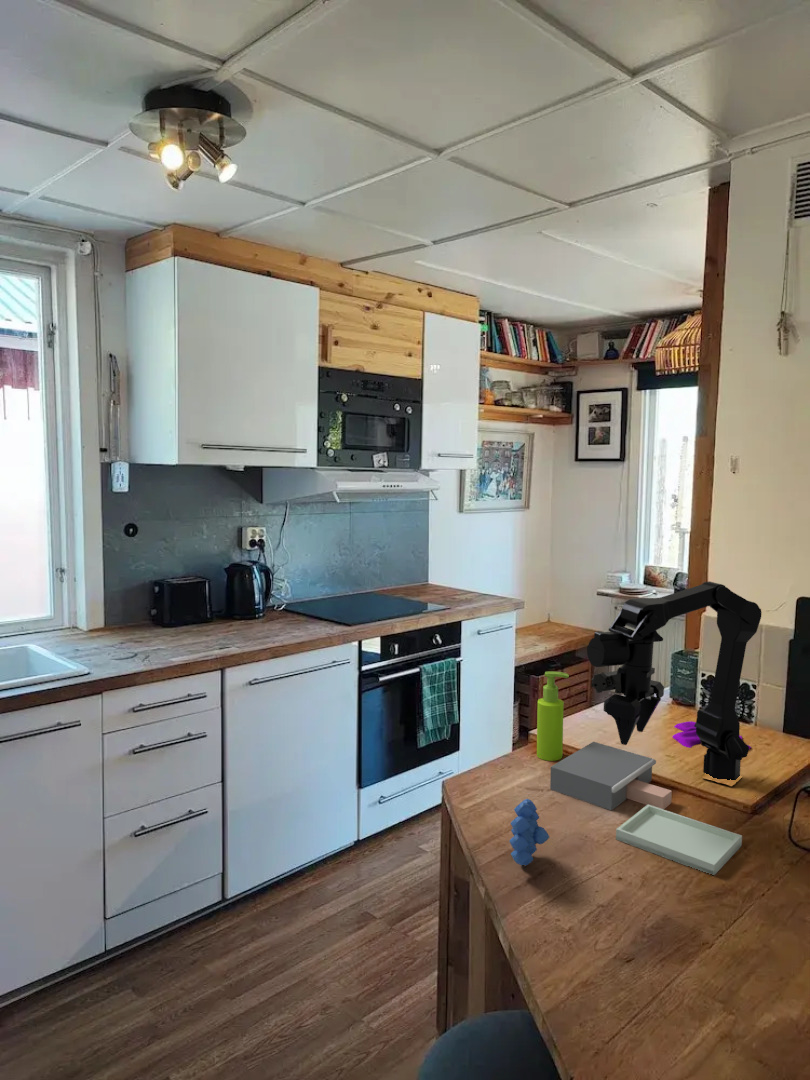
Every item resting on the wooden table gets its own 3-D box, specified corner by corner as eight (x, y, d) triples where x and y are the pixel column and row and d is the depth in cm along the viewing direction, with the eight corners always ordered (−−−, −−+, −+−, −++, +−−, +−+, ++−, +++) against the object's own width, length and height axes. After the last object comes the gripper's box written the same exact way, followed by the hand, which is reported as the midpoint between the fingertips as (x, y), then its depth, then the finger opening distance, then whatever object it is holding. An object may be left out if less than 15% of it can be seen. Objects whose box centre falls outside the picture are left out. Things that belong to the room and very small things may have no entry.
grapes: (542, 888, 129) (543, 819, 127) (502, 879, 131) (502, 812, 129) (555, 852, 139) (556, 789, 138) (518, 845, 142) (519, 783, 140)
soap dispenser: (566, 762, 177) (568, 677, 175) (536, 759, 179) (537, 675, 176) (566, 752, 183) (568, 669, 180) (537, 749, 185) (538, 668, 182)
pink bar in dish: (671, 804, 158) (671, 790, 157) (662, 811, 155) (663, 797, 154) (608, 784, 167) (608, 771, 167) (598, 790, 164) (599, 777, 164)
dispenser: (655, 781, 167) (656, 759, 166) (615, 812, 154) (615, 788, 153) (593, 762, 177) (593, 741, 176) (550, 789, 164) (550, 766, 163)
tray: (741, 845, 141) (742, 835, 141) (713, 875, 132) (714, 864, 131) (647, 813, 153) (647, 804, 153) (615, 839, 144) (616, 829, 143)
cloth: (754, 761, 178) (755, 736, 177) (668, 750, 185) (669, 725, 184) (750, 727, 199) (751, 704, 198) (673, 718, 206) (674, 696, 205)
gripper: (615, 647, 169) (610, 716, 170) (580, 665, 153) (576, 741, 155) (667, 656, 162) (661, 728, 164) (636, 676, 147) (630, 755, 149)
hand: (632, 737), depth 158 cm, fingers open, 9 cm apart
